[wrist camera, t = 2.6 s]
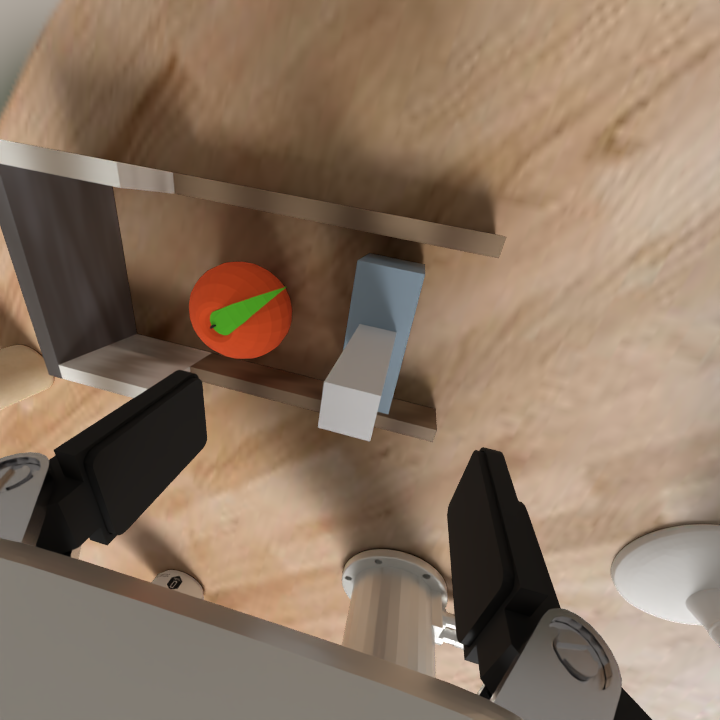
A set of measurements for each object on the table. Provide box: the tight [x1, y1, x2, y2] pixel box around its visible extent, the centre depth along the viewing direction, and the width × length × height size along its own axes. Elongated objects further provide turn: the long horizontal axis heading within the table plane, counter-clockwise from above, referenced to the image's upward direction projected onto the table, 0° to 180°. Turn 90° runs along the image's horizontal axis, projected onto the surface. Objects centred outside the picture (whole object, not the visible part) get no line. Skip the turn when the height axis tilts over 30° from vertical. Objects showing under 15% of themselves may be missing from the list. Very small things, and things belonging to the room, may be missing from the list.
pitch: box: [0, 139, 506, 442], centre depth 22 cm, size 30×15×7 cm, turn 80°
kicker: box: [318, 253, 425, 441], centre depth 18 cm, size 4×10×12 cm, turn 170°
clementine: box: [189, 262, 292, 359], centre depth 22 cm, size 8×7×7 cm
